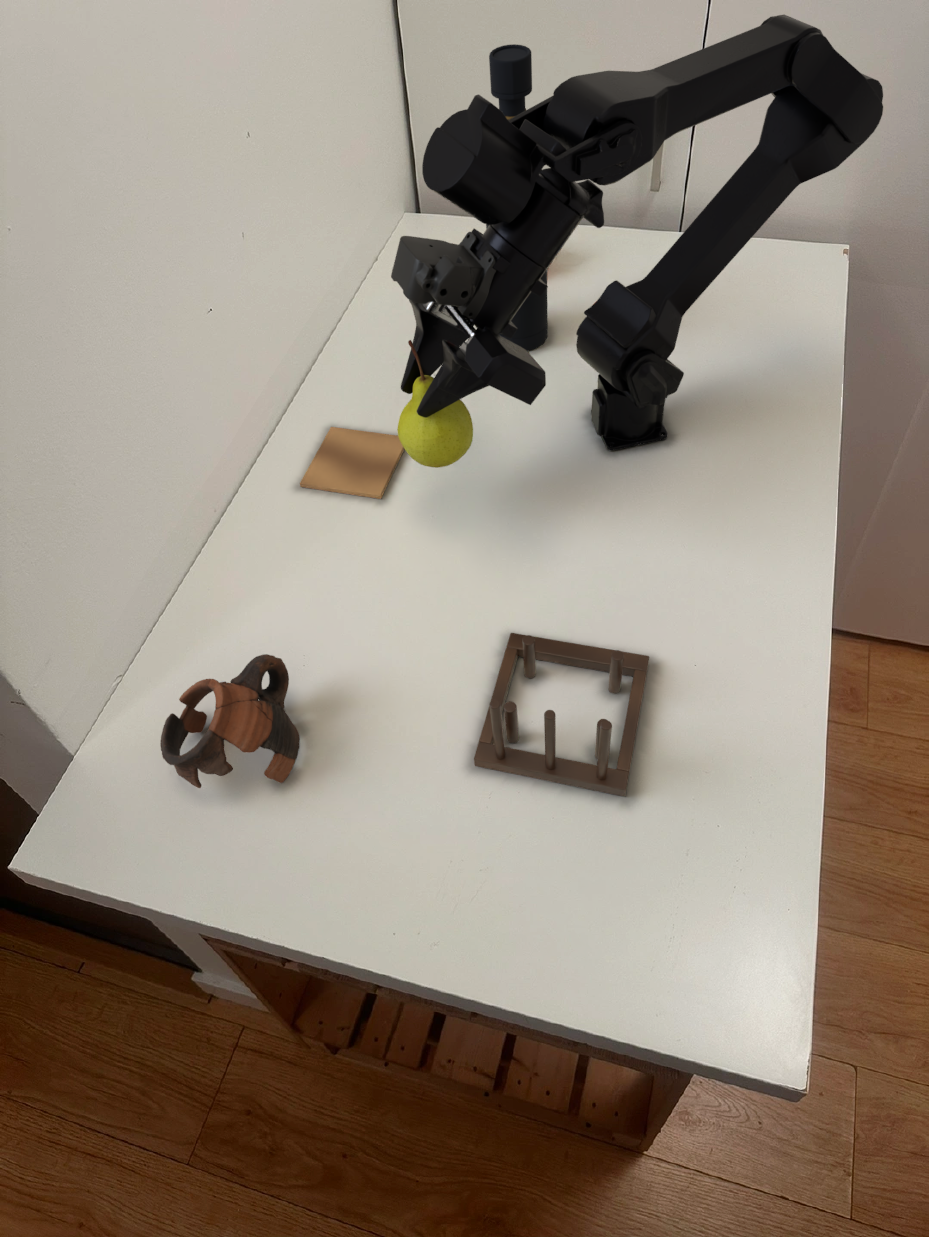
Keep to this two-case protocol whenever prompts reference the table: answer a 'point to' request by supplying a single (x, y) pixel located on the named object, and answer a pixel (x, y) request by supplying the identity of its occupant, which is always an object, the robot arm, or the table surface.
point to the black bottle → (510, 88)
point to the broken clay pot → (235, 723)
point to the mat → (354, 463)
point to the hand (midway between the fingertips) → (412, 403)
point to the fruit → (434, 428)
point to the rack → (549, 764)
